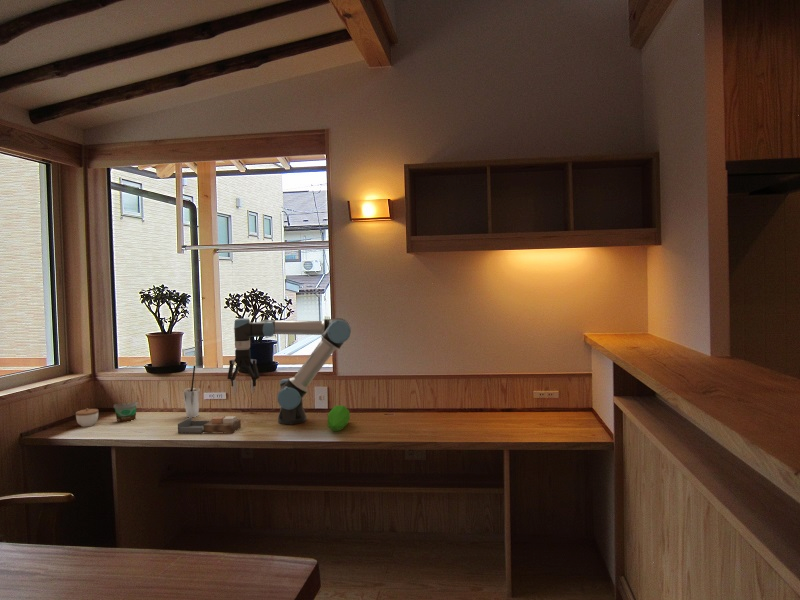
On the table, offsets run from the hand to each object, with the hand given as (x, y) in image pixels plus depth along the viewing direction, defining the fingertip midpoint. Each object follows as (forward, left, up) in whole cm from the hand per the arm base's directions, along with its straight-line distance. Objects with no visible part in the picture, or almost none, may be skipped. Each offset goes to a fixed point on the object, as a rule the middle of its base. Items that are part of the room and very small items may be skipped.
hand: (243, 392), depth 275 cm
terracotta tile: (+14, 0, -15) cm, 21 cm away
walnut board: (+12, 0, -19) cm, 23 cm away
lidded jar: (+90, -7, -20) cm, 93 cm away
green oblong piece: (-48, -2, -20) cm, 51 cm away
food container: (+73, -16, -20) cm, 78 cm away
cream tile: (+8, 0, -15) cm, 17 cm away
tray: (+26, 0, -19) cm, 33 cm away
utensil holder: (+40, -26, -20) cm, 52 cm away
